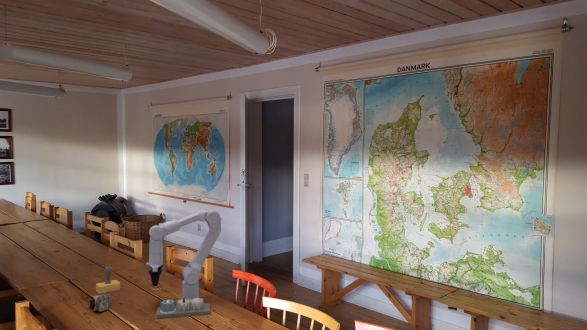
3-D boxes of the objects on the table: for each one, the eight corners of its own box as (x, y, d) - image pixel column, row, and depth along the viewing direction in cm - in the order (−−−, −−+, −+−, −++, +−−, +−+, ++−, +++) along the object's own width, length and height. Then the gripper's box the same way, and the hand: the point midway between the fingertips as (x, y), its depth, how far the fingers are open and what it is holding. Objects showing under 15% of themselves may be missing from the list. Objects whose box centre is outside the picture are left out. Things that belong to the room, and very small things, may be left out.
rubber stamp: (99, 294, 204) (99, 269, 203) (95, 291, 208) (95, 266, 208) (120, 289, 211) (120, 265, 210) (116, 286, 215) (116, 263, 214)
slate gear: (161, 307, 184) (161, 299, 184) (175, 306, 186) (175, 298, 185) (160, 313, 179) (160, 304, 178) (174, 311, 180) (174, 303, 180)
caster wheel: (98, 308, 193) (117, 307, 190) (80, 312, 182) (100, 311, 180) (98, 293, 194) (117, 292, 192) (80, 296, 183) (100, 295, 181)
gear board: (157, 310, 185) (157, 295, 185) (209, 306, 191) (209, 291, 191) (156, 318, 177) (156, 302, 176) (210, 314, 182) (210, 298, 182)
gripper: (147, 249, 195) (147, 278, 196) (145, 257, 181) (144, 288, 182) (163, 248, 197) (163, 277, 198) (162, 256, 183) (162, 287, 184)
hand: (155, 283), depth 190 cm, fingers open, 7 cm apart
